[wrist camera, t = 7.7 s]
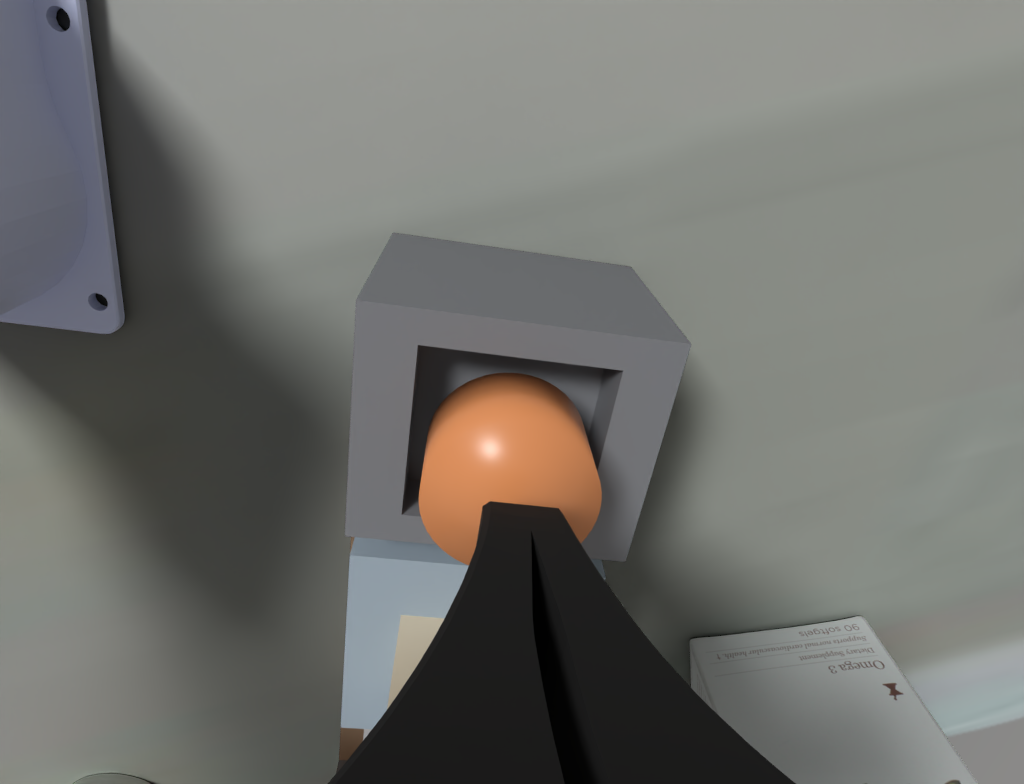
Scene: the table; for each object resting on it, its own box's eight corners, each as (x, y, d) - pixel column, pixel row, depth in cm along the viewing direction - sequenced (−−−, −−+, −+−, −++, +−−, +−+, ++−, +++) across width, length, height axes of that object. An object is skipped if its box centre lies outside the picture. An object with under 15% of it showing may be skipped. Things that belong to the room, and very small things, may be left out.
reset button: (435, 363, 13) (428, 412, 11) (600, 382, 14) (620, 434, 12) (420, 500, 15) (411, 564, 13) (568, 514, 15) (581, 579, 13)
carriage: (363, 504, 19) (319, 665, 14) (593, 527, 20) (632, 687, 14) (353, 668, 22) (314, 849, 17) (552, 682, 23) (573, 859, 17)
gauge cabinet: (393, 232, 18) (356, 300, 13) (647, 269, 19) (713, 347, 13) (380, 416, 21) (344, 536, 15) (603, 441, 21) (644, 563, 16)
